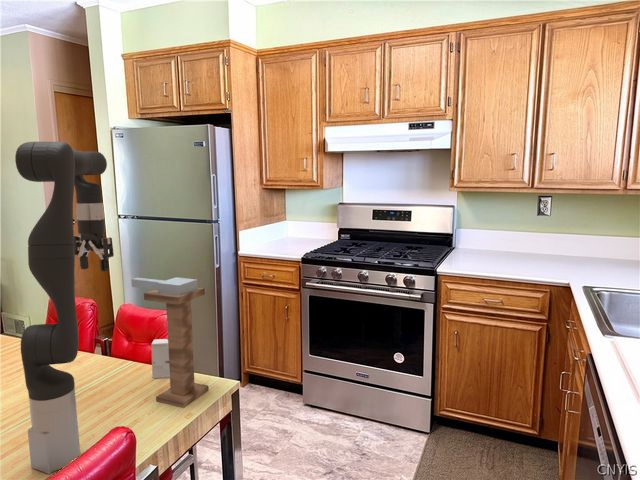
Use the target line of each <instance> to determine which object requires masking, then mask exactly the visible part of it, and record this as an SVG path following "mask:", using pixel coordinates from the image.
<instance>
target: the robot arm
mask: <svg viewBox="0 0 640 480" xmlns="http://www.w3.org/2000/svg"><path fill="white" fill-rule="evenodd" d="M14 158H15V160H14V161H15V167H16V169H17V172H18V173H19V175H20V176H21V177H22V178H23V179H24V180H27V181H29V182H36V183H42V182H43V183H45V182H46V183H50V182H53V183H54V185H53V191H52V196H51V199H50V202H49V204H48V206H47V208H46V209H45V211H44V212H43V214H42V215H41V217H40V218H39V219H38V220H37V222H36V223H35V225H34V226H33V228H32V229H31V232H30V233H29V236H28V239H27V246H28V247H27V252H28V253H27V259H28V261H27V262H28V263H27V264H28V268H29V270H30V273H31V275H32V276H33V278H34V279H35V281H36V282H37V283H38V284H39V285H40V287H41V288H42V289H43V290H44V291H45V293H46V294H47V296H48V297H49V299H50V301H51V303H52V304H53V306H54V310H55V312H56V318H57V323H56V322H55V323H42V324H41V323H40V324H32V325H29V326H27V327H26V328H25V329H24V331H23V332H22V335H21V339H20V357H21V361H22V367H23V373H24V380H25V382H24V383H25V385H26V386H25V387H26V389H27V393H28V400H29V401H28V403H29V412H30V423H31V427H30V428H28V429H27V437H28V438H27V439H28V446H29V456H30V457H29V458H30V467H31V468H32V469H34V470H36V471H40V472H42V473H44V474H48V475H50V474H51V473H53V472H55V471H59V470H62V469H64V468H63V467H64V466H66V465H67V464H69V463H70V462H71V461H72V460H74V459H75V458H77V457H78V456H79V457H80V456H81V448H80V447H81V446H80V433H79V432H80V431H79V422H78V409H77V398H76V385H75V377H74V375H72V374H71V373H70V372H67V371H63V370H60V369H58V368H55V367H53V366H51V365H62V364H63V365H64V364H70V363H73V362H74V361H75V360H76V358H77V356H78V353H79V344H80V343H79V342H80V341H79V340H80V339H79V337H80V336H79V326H78V316H77V315H78V314H77V307H76V294H75V291H76V290H75V267H76V266H75V262H76V260H75V257H76V256H77V257H78V258H79V266H80V269H81V270H86V269H89V258H88V255H89V253H90V252H94V253H95V254H96V255H97V256H98V257H99V265H100V271H101V272H107V271H109V268H110V267H109V259H110V258H112V257H114V246H113V238H112V237H104V233H105V232H106V221H105V220H106V219H105V210H104V209H105V208H104V205H103V193H102V192H103V189H102V186H101V185H100V184H98V183H96V182H95V183H94V182H89V181H87V180H86V179H85V178H84V176H100V175H102V174H104V173H105V171H107V166H108V161H107V159H106V157H105V155H104V154H102V153H101V152H99V151H81V150H75V149H73V148H72V146H71V145H70V144H69V143H68V142H64V141H27V142H23V143H22V144H20V145H19V146H18V147H17V149H16V150H15V157H14ZM74 192H75V193H74ZM74 194H75V195H74ZM74 196H75V200H76V224H77V233H78V234H79V235H75V232H74ZM61 468H62V469H61Z"/></svg>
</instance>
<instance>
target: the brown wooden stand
mask: <svg viewBox="0 0 640 480" xmlns="http://www.w3.org/2000/svg"><path fill="white" fill-rule="evenodd" d="M205 294H206V292H205V287H198V289H197V290H194V291H191V292H189V293H186V294H183V295H180V296H179V295H171V294H163V293H158V290H155V289H152V290H149V291H146V292H144V293H143V300H144V301H148V302H149V301H150V302H157V303H162V304H163V303H164V304H165V305H166V306H165V308H166V325H167V326H166V329H167V339H168V349H169V368H170V377H169V380H170V381H169V382H170V383H169V384H170V388H168V389H166V390H164V391H163V392H161V393H159V394H158V395H156V396H155V400H156V402H158V403H162V404H165V405H170V406H173V407H178V408H180V409H181V408H182V409H184V408H185V407H186V406H187V407H188V405H189V404H190V403H192V402H194V401H195V400H197V399H198V398H200V397H202V395H204V394H205V393H207V392H208V391H209V385H207V384H201V383H197V382H195V364H194V343H193V341H194V340H193V321H192V300H194V299H197V298H199V297H202V296H204V295H205Z"/></svg>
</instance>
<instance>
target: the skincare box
mask: <svg viewBox="0 0 640 480" xmlns="http://www.w3.org/2000/svg"><path fill="white" fill-rule="evenodd" d="M150 346H151V370H152V375H151V376H152V379H159V378H160V379H164V378H170V368H169V349H168V338H162V339H161V338H159V339H158V338H157V339H153V341H152V343H151V345H150Z"/></svg>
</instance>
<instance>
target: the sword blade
mask: <svg viewBox="0 0 640 480" xmlns="http://www.w3.org/2000/svg"><path fill="white" fill-rule="evenodd" d="M198 286H199V285H198V279H195V278H194V279H193V278H187V277H185V278H184V277H176V276H175V277H173V278H170V279H166V280H163V279H154V278H145V277H143V278H142V277H134V278H131V288H140V289H148V290H158V293H163V294H171V295H179V296H180V295H183V294H186V293H189V292H191V291H194V290H197V289H198Z"/></svg>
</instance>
